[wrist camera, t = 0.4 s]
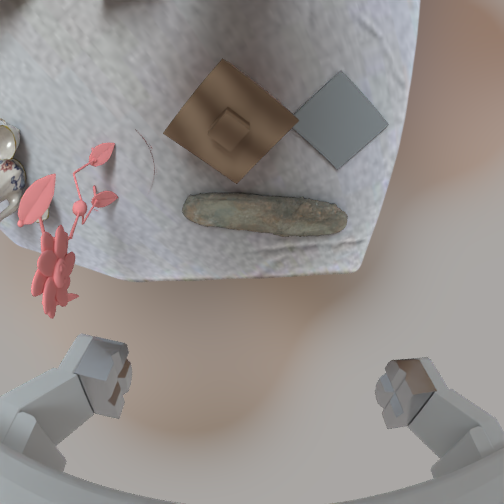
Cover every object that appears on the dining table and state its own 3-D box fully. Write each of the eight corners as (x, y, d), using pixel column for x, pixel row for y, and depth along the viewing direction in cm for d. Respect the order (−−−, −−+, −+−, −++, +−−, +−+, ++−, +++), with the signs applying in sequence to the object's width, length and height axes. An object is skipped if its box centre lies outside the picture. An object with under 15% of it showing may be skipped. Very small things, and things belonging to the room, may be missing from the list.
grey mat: (340, 70, 43) (341, 71, 43) (387, 123, 49) (388, 124, 49) (286, 121, 50) (286, 122, 50) (336, 168, 56) (337, 169, 56)
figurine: (93, 217, 63) (31, 345, 37) (89, 110, 46) (-32, 216, 20) (154, 226, 66) (113, 367, 39) (163, 115, 49) (79, 235, 23)
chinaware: (71, 201, 62) (43, 244, 49) (29, 223, 63) (2, 265, 50) (19, 104, 44) (-26, 129, 31) (-20, 139, 45) (-60, 170, 32)
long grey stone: (184, 180, 60) (186, 217, 67) (178, 194, 56) (181, 233, 63) (351, 197, 61) (339, 233, 68) (357, 212, 57) (343, 249, 64)
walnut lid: (222, 58, 34) (220, 61, 31) (298, 118, 40) (303, 128, 37) (164, 131, 41) (156, 141, 38) (236, 181, 47) (235, 195, 44)
